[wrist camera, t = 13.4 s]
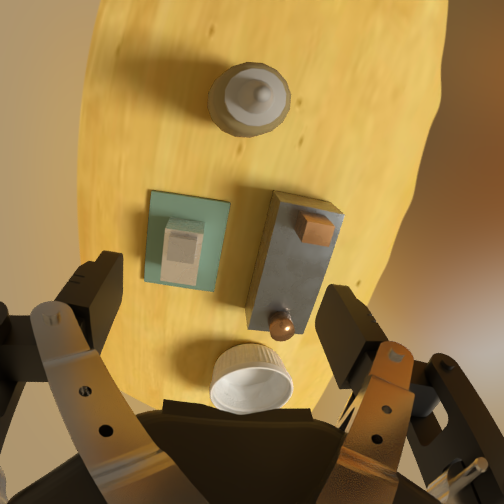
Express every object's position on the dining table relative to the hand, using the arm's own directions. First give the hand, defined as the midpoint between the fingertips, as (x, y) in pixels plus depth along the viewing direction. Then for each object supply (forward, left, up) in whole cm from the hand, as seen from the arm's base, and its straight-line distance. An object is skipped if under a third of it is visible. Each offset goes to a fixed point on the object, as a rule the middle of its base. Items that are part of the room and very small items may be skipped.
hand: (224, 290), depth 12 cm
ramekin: (+32, +10, -28) cm, 44 cm away
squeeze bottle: (-8, +1, -28) cm, 29 cm away
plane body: (+11, +11, -28) cm, 32 cm away
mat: (+11, -3, -28) cm, 30 cm away
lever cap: (+11, -3, -28) cm, 30 cm away
